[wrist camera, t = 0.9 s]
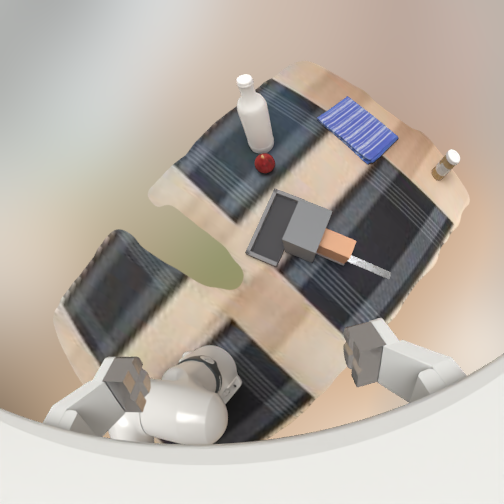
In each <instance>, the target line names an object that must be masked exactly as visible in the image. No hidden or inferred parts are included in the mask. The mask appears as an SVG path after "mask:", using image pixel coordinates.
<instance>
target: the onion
mask: <svg viewBox="0 0 504 504" xmlns="http://www.w3.org/2000/svg"><path fill="white" fill-rule="evenodd" d="M255 167H256V169H257V170H258V171H259V172H261V173H269V172H270V171H272V170H273V169H274V167H275V161H274V159H273V157H272V156H271V155H269V154H266V153H262V154H260V155H259V156H257V158H256V159H255Z"/></svg>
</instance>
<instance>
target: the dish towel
mask: <svg viewBox="0 0 504 504" xmlns="http://www.w3.org/2000/svg"><path fill="white" fill-rule="evenodd" d="M317 120H318V121H319V122H320V123H321V124H322V125H323V126H325V127H326V128H327V129H328V130H329V131H331V132H332V133H333V134H334V135H335V136H337V137H338V138H339V139H340V140H341V141H342V142H343V143H344V144H346V145H347V146H348V147H349V148H350V149H351V150H352V151H353V152H354V153H355V154H356V155H358V156H359V157H360V158H361V159H362V160H363V161H364V162H365V163H366V164H369V163H371V162H372V163H373V162H374V161H375V160H377V159H378V158H379V157H380V156H381V155H382V154H383V153H384V152H385V151H386V150H387V149H388V148H389V147H390V146H391V145H392V144H393V143H394V142H395V141H397V140H398V136H397V135H396V134H394V133H393V132H392V131H391V130H389V129H388V128H387V127H386V126H385V125H384V124H382V123H381V122H380V121H379V120H378V119H376V118H375V117H374V116H373V115H371V114H370V113H369V112H367V111H366V110H365V109H364V108H362V107H361V106H360V105H358V104H357V103H356V102H354V101H353V100H352V99H350V98H349V97H348V96H347V97H346V98H345V99H343V100H342V101H341V102H339V103H338V104H336V105H335V106H333V107H332V108H331V109H329V110H328V111H326V112H325V113H323V114H322V115H320V116H319V117H317Z"/></svg>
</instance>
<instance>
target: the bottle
mask: <svg viewBox="0 0 504 504" xmlns="http://www.w3.org/2000/svg"><path fill="white" fill-rule="evenodd" d="M253 83H254V81H253V79H252V77H251V76H250V75H248V74H243V75H241V76H239V77H238V78H237V86H238V87H239V90H240V93H241V97H240V98H239V99H238V103H237V110H238V113H239V116H240V119H241V122H242V125H243V128H244V131H245V134H246V137H247V140H248V144H249V146H250V148H251V150H252V151H253V152H255V153H258V154H262V153H267V152H269V151H270V150H271V149H272V148H273V146H274V138H273V134H272V129H271V124H270V118H269V113H268V108H267V103H266V101H265V99H264V98H263V97H262V96H261V95H260V94H259V93H256V92H255V88H254V84H253Z"/></svg>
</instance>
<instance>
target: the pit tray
mask: <svg viewBox="0 0 504 504" xmlns="http://www.w3.org/2000/svg"><path fill="white" fill-rule="evenodd" d="M299 199H301V198H299V197H296V196H293V195H291V194H288V193H285V192H283V191H280V190H277V189H274V191H273V193H272V195H271V198H270V200H269V202H268V204H267V206H266V209H265V211H264V213H263V215H262V217H261V219H260V222H259V224H258V226H257V228H256V230H255V233H254V235H253V237H252V239H251V241H250V244H249V246H248V248H247V250H246V252H245V253H246V254H247V255H249V256H252V257H254V258H256V259H259V260H261V261H263V262H266V263H268V264H270V265H273V266H275V267H277V265H278V263H279V261H280V258H281V256H282V254H283V251H284V245H283V241H282V238H283V236H284V234H285V231H286V229H287V227H288V224H289V222H290V220H291V218H292V215H293V213H294V211H295V208H296V206H297V204H298V201H299ZM303 200H304V199H303Z"/></svg>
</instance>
